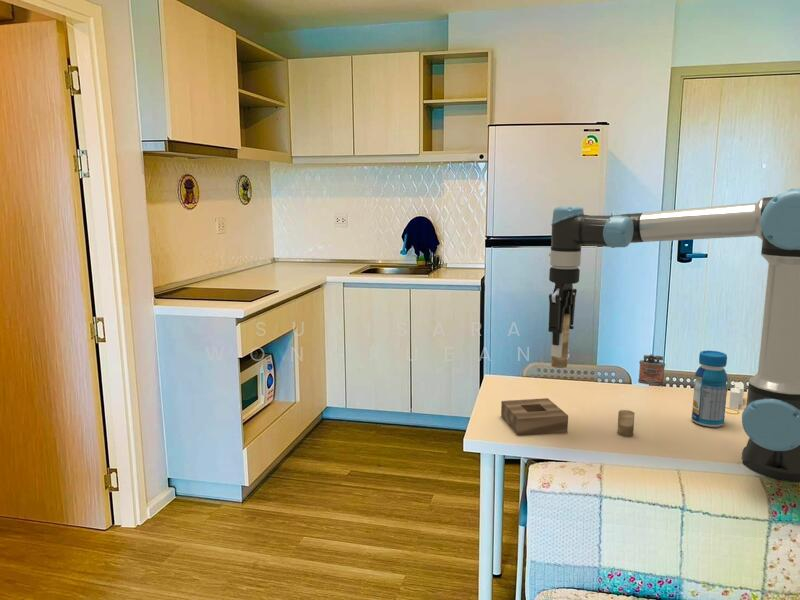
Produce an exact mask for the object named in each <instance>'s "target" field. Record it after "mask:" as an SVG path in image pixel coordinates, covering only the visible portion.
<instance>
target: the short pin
mask: <svg viewBox="0 0 800 600" xmlns="http://www.w3.org/2000/svg"><path fill="white" fill-rule="evenodd" d="M634 429H635V411H631V410H628V409H620V410H618V413H617V429H616V430H617V432H616V433H617V435H618V436H620V437H624V438H629V437H630V438H631V437H633V436H634Z"/></svg>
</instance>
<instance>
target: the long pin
mask: <svg viewBox="0 0 800 600" xmlns="http://www.w3.org/2000/svg"><path fill="white" fill-rule="evenodd" d="M569 323H570V314H567V313H564V318H563V326H562V332H561V333H563V345H562V357H561V358H559V357H554V356H551V367H552V368H556V369H566V368H567V367H568V355H569V351H568V340H569V341H570V334H569V330H570V329H569Z"/></svg>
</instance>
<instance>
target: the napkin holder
mask: <svg viewBox="0 0 800 600" xmlns="http://www.w3.org/2000/svg"><path fill="white" fill-rule="evenodd" d="M733 386H734V387H730V393H729V402H728V403H729V404H728V405H729V406H728V408H729V409H732V410H738V411H739V406H743V402H744V392H745V388H744V387H745V386H744V382H738V381H737V382H736V381H734V385H733Z"/></svg>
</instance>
